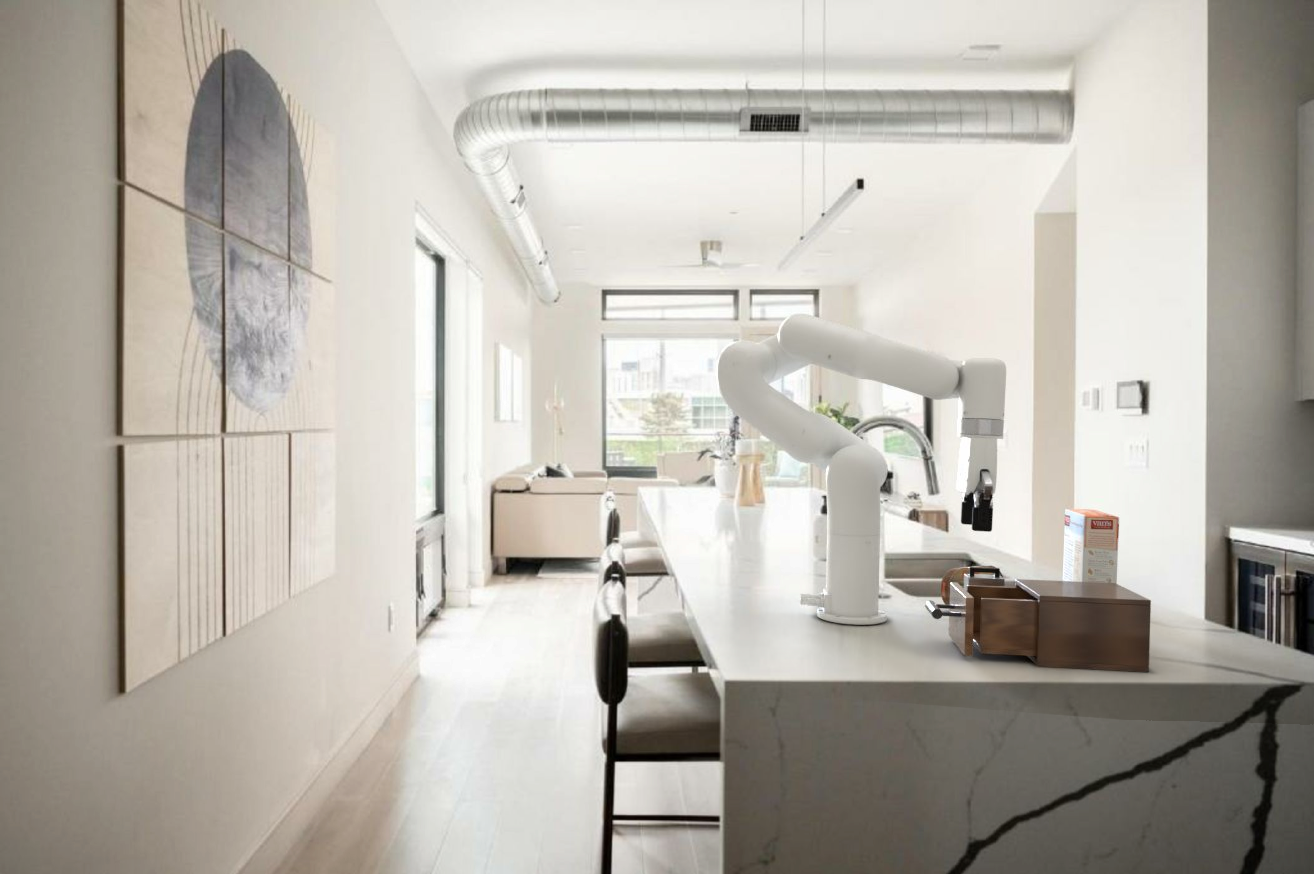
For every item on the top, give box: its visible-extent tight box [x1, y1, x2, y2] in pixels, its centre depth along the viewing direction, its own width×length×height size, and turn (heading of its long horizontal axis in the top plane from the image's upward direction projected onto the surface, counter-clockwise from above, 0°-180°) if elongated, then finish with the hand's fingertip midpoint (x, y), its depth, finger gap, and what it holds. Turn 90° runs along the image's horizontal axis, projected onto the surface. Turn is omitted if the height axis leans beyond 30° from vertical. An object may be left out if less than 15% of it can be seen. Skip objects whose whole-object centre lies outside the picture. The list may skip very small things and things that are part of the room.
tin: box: [940, 565, 1006, 605], centre depth 179 cm, size 15×3×8 cm, turn 117°
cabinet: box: [1014, 578, 1152, 673], centre depth 143 cm, size 16×15×11 cm
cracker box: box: [1062, 508, 1120, 584], centre depth 162 cm, size 14×6×21 cm, turn 168°
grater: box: [964, 566, 1006, 590], centre depth 160 cm, size 6×4×11 cm, turn 82°
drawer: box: [924, 582, 1038, 657], centre depth 145 cm, size 19×13×9 cm
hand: (975, 527), depth 160 cm, fingers open, 9 cm apart
